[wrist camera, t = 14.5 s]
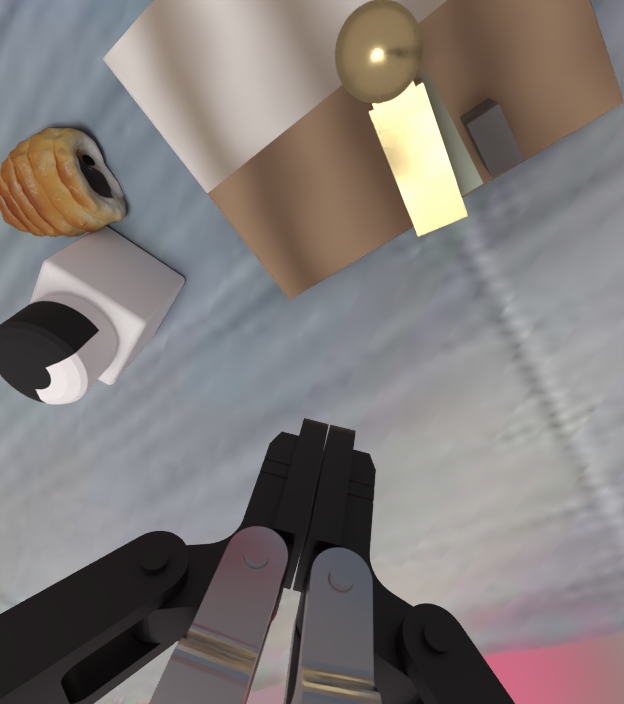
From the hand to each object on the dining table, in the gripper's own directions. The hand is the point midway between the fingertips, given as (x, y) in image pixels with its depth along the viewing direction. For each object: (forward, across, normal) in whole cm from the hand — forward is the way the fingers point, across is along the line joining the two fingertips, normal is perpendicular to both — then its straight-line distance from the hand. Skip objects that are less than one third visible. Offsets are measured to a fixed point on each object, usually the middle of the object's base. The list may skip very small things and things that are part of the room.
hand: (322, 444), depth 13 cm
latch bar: (+19, 0, -6) cm, 20 cm away
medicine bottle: (+21, +17, +9) cm, 29 cm away
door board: (+21, +3, -8) cm, 22 cm away
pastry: (+21, +22, +2) cm, 30 cm away
